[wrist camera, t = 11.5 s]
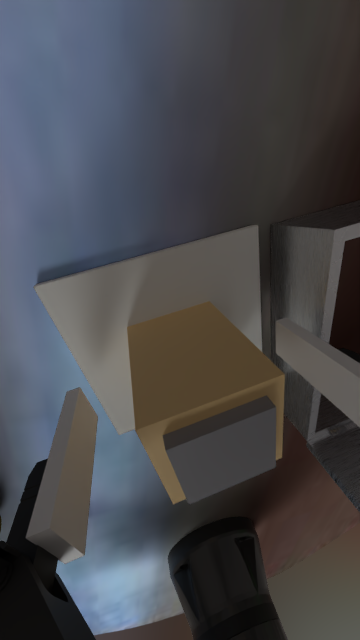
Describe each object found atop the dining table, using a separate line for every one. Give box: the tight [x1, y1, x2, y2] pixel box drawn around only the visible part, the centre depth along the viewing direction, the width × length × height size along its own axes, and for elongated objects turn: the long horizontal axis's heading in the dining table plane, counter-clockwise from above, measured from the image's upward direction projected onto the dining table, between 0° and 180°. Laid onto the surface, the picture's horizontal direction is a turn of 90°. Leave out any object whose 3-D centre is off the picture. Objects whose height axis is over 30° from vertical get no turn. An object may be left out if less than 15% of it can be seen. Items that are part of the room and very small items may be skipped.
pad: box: [34, 225, 262, 435], centre depth 17 cm, size 14×14×1 cm
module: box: [127, 301, 285, 505], centre depth 13 cm, size 6×6×9 cm
